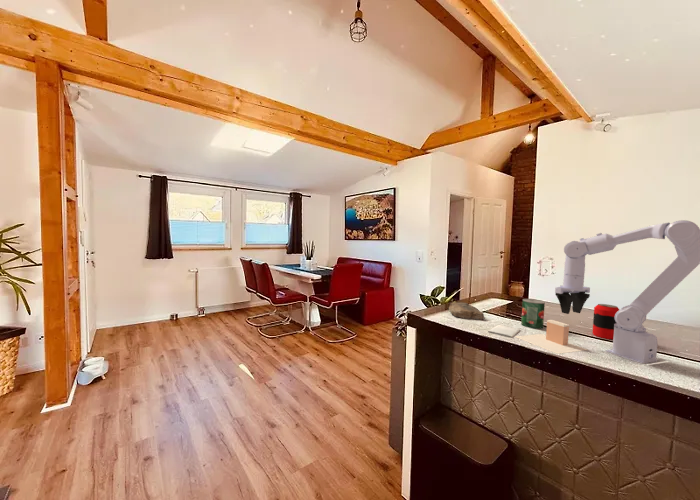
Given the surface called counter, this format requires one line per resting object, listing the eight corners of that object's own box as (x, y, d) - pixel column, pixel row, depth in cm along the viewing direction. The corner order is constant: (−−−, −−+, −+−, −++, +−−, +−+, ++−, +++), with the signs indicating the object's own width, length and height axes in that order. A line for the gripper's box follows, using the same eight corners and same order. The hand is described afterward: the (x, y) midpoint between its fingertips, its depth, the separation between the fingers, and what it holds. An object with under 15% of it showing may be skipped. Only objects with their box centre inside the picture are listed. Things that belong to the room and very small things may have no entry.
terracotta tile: (567, 344, 98) (569, 324, 98) (562, 345, 98) (564, 325, 97) (550, 338, 104) (552, 319, 104) (545, 339, 103) (547, 320, 103)
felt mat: (588, 351, 94) (588, 349, 94) (557, 355, 90) (557, 353, 90) (542, 334, 110) (542, 333, 110) (514, 337, 105) (514, 336, 105)
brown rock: (445, 308, 149) (451, 317, 130) (446, 298, 149) (452, 307, 130) (474, 311, 147) (484, 321, 127) (474, 301, 147) (485, 310, 127)
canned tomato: (547, 330, 115) (548, 303, 115) (526, 328, 117) (527, 302, 116) (537, 324, 123) (539, 299, 123) (517, 323, 124) (519, 298, 124)
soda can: (588, 334, 112) (590, 304, 111) (597, 332, 115) (600, 302, 115) (613, 341, 105) (615, 308, 105) (622, 338, 109) (624, 307, 108)
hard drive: (511, 336, 104) (520, 328, 113) (487, 330, 109) (497, 323, 118) (511, 340, 104) (520, 332, 113) (487, 334, 109) (497, 327, 119)
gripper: (576, 273, 108) (573, 309, 109) (548, 273, 104) (545, 310, 104) (597, 276, 101) (594, 314, 102) (568, 276, 97) (565, 316, 98)
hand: (570, 312), depth 103 cm, fingers open, 5 cm apart
